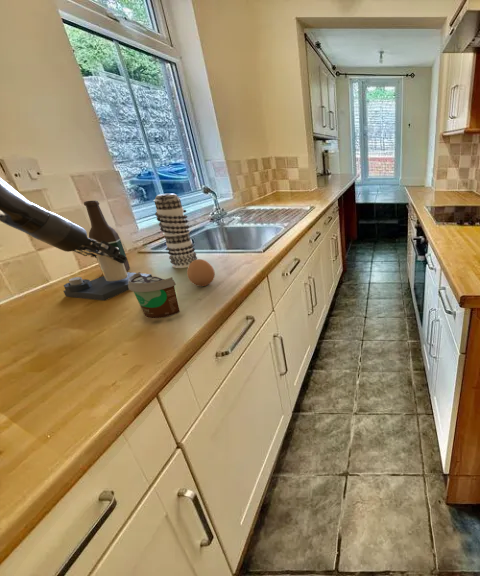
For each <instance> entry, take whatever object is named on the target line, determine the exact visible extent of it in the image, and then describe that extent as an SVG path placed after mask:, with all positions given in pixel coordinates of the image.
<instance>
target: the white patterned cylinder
mask: <svg viewBox="0 0 480 576" xmlns="http://www.w3.org/2000/svg"><path fill="white" fill-rule="evenodd" d="M154 198H155V199H153V200H152V201H154V206H155V213H154V216H156V220H157V222H159V223H158V226H159V227H160V231H161V232H162V236H164V239H165V244H166V250H167V251H168V252H167V254H168V255H169V257H168V259H169V260H170V264H171V267H172V268H175V269H183V268H188V267H189V265H190V263H191V262H192V261H194V260H197V259H198V257H197V253H196V252H195V251H196V249H195V247H194V246H195V244H194V243H193V241H192V238H191V235H190V232H191V230H190V229H189V228H190V225H187V223H189V220H188V219H187V218H188V216H187V215H186V214H185V213H187V210H186V209H184V206H183V205H182V201H181V199H182V197H179V196H178V195H177V194H176V193H160V194H157V195H156V196H155V197H154Z"/></svg>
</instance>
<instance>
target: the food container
mask: <svg viewBox="0 0 480 576" xmlns="http://www.w3.org/2000/svg"><path fill="white" fill-rule="evenodd" d="M135 273H136V274H134V275H132V276H131V277H130V278H129V279H128V280H129V281H128V288H129V290H128V291H131V292H133V294H134V297H135V298H136V300H137V302H138V304H139V306H140V308H141V311H142V313H143V315H144V317H145V318H147V319H162V318H167V317H171V316H174V315H177V314H179V313H180V312H181V310H180V306H179V302H178V297H177V293H176V288H175V286H176V285H177V284H176V282H175V279H174V278H173V276H172V277H169V278H165V279H164V278H161V277H159V276H152V277H147V276H141V272H135Z"/></svg>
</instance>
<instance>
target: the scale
mask: <svg viewBox="0 0 480 576" xmlns="http://www.w3.org/2000/svg"><path fill="white" fill-rule="evenodd" d="M136 273H137V272H129V271H128V272H127V274H128V277H126V278H124V279H121V280H117V281H106V279H105V277H104V275H102V276H99V277H96V278H94V279H85V278H84V279H83V278H82V280H83V282H84V283H82V284H79V285H71V284H70V282H69V281H68V282H66V283H65V284H64V285H63V289H64V290H62V291H63V294H64V296H65V297H66V298H76V299H85V300H94V301H95V300H96V301H107V300H110V299H113V298H114V297H116V296H119V295H121V294H123V293H125V292H128V291H130V290H129V288H128V281H129V280H128V279H129V278H130V277H131V276H132V275H134V274H136ZM140 273H141V272H140ZM141 276H147V277H153V275H152V274H151V273H143V272H142V273H141Z"/></svg>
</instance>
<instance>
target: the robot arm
mask: <svg viewBox="0 0 480 576" xmlns="http://www.w3.org/2000/svg"><path fill="white" fill-rule="evenodd" d="M0 222H1V223H3V224H5V225H6V226H8V227H11V228H13V229H15V230H17V231H21V232H22V233H25V234H26V235H28V236H31V237H32V238H34V239H36V240H38V241H39V242H41V243H42V242H43V243H45V244H47V245H50V246H51V247H54V248H56V249H58V250H60V251H63V252H67V253H68V252H69V253H70V252H74V253H77V254H79V255H82V256H84V257H90V258H95V259H97V257H96V255H98V256H106V257H109V258H111V259H113V260H115V261H118V262H120V263H125V262H126V260H128V257H127V256H126V257H125V256H123V255H121V254H119V252H120V250H119V249H117V248H115V247H114V246H112V245H111V244H109V243H107V242H106V241H102V242H101V243H100V242H98V241H97V240H95V239H93V238H89V236H88V232H87V230H86V229H85V228H84V227H82V226H80V225H78V224H77V223H75V222H72V221H71V220H69V219H67V218H65V217H63V216H61V215H59V214H57V213H55V212H53V211H50V210H47V209H46V208H44V207H42V206H40V205H39V204H36V203H35V202H32V201H31V200H28V199H27V198H26V197H25V196H23V195H22V194H21V193H20V192H19V191H17V190H16V189H15V188H14V187H13V186H11V184H9V183H8V182H7V181H5V180H4V179H2V178H1V177H0ZM99 250H100V251H101V252H100V253H98V252H99Z"/></svg>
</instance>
